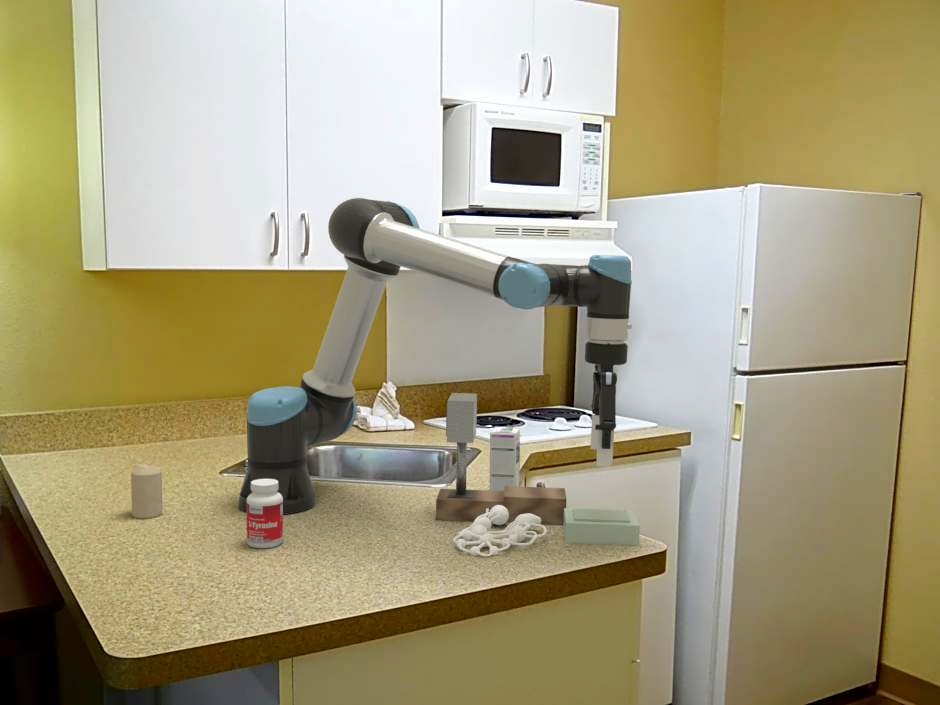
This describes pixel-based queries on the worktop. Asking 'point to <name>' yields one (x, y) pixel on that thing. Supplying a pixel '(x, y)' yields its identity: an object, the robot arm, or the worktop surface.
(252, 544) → the pill bottle
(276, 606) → the worktop surface
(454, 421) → the block
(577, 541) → the cover
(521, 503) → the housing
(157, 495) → the candle
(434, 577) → the worktop surface
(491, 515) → the tangled rod sculpture
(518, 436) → the syrup box
